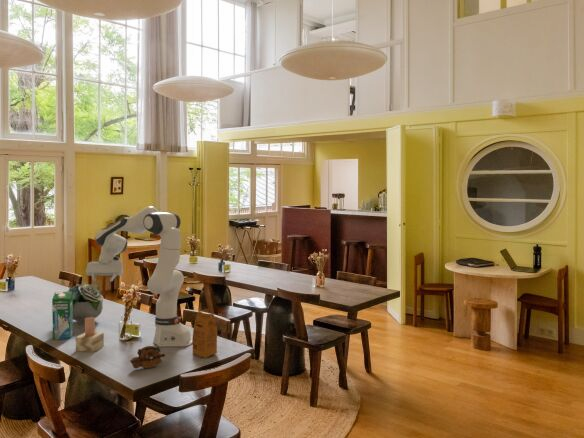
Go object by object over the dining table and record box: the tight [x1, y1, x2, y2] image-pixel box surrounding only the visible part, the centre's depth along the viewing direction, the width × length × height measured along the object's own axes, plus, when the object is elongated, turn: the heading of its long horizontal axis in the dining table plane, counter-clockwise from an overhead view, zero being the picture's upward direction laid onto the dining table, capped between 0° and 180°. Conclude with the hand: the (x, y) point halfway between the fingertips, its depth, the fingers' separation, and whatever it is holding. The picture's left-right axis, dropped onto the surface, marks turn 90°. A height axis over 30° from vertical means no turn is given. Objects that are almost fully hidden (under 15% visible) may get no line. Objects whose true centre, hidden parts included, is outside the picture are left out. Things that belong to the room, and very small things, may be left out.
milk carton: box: [51, 291, 74, 340], centre depth 282 cm, size 9×9×25 cm
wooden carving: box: [129, 345, 166, 369], centre depth 238 cm, size 16×5×10 cm, turn 126°
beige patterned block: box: [75, 331, 105, 353], centre depth 264 cm, size 10×10×7 cm
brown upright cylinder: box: [84, 317, 96, 336], centre depth 264 cm, size 5×5×9 cm
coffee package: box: [191, 310, 218, 359], centre depth 257 cm, size 10×12×22 cm
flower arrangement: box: [66, 283, 105, 325], centre depth 311 cm, size 25×25×24 cm
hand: (102, 280), depth 285 cm, fingers open, 8 cm apart
